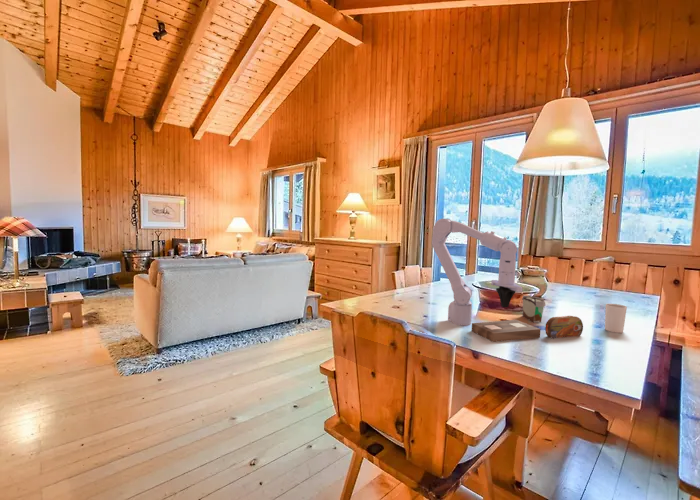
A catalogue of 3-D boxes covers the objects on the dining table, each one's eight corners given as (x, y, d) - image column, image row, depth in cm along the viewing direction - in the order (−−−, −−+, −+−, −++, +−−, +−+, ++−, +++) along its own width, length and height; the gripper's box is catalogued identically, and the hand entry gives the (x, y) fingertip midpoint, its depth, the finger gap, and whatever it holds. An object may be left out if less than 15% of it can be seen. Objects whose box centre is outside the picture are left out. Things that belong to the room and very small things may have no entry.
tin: (549, 342, 123) (551, 318, 122) (542, 339, 126) (544, 316, 125) (583, 338, 127) (584, 316, 126) (575, 336, 130) (577, 314, 129)
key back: (508, 331, 131) (508, 323, 130) (517, 330, 132) (518, 322, 132) (516, 335, 127) (517, 327, 126) (526, 334, 128) (527, 326, 128)
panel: (471, 333, 131) (471, 323, 130) (515, 329, 136) (515, 319, 136) (492, 344, 119) (493, 333, 119) (539, 339, 125) (540, 329, 125)
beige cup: (628, 333, 134) (630, 308, 133) (608, 332, 135) (611, 307, 134) (618, 328, 140) (620, 304, 139) (600, 327, 142) (602, 303, 141)
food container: (550, 326, 142) (552, 302, 141) (535, 326, 142) (536, 301, 141) (535, 317, 154) (536, 295, 153) (521, 317, 154) (522, 295, 153)
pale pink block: (483, 333, 128) (483, 325, 127) (493, 332, 129) (493, 324, 129) (491, 337, 123) (491, 329, 123) (501, 336, 125) (502, 328, 124)
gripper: (530, 274, 127) (527, 311, 128) (502, 268, 141) (500, 301, 142) (514, 275, 125) (512, 312, 126) (487, 269, 139) (485, 302, 140)
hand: (504, 306), depth 134 cm, fingers closed
